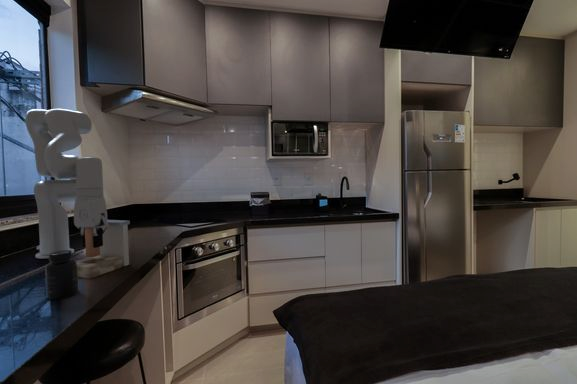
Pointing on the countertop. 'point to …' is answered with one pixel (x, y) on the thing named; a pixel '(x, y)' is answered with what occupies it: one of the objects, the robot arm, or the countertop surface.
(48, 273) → the supplement bottle
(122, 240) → the white lidded canister
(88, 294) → the countertop surface
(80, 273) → the socket block
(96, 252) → the peg
